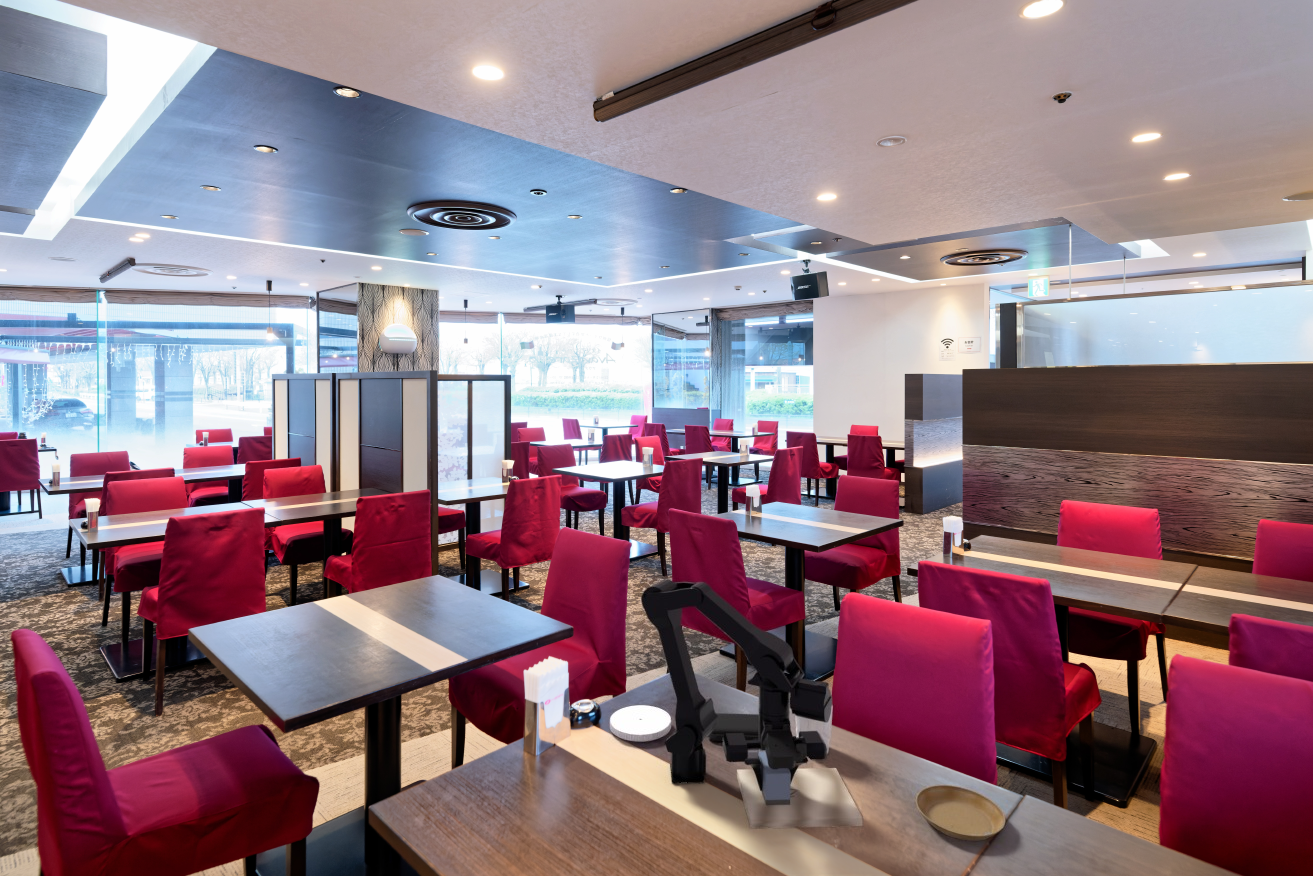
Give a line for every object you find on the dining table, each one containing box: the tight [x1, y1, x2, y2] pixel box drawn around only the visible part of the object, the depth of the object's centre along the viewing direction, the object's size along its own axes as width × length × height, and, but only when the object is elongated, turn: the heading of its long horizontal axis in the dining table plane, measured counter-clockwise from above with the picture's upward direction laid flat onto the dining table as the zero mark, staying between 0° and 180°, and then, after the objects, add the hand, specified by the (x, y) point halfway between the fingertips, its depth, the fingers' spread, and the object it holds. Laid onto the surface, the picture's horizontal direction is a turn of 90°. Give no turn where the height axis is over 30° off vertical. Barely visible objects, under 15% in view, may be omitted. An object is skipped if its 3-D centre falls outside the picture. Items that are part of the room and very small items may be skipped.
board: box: [736, 767, 863, 829], centre depth 129 cm, size 20×16×2 cm
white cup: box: [794, 705, 834, 755], centre depth 146 cm, size 8×8×10 cm
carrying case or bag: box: [707, 712, 759, 742], centre depth 153 cm, size 11×3×15 cm
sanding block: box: [758, 751, 791, 805], centre depth 128 cm, size 4×8×6 cm, turn 2°
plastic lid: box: [609, 704, 672, 743], centre depth 155 cm, size 14×14×2 cm
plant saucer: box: [915, 784, 1006, 842], centre depth 122 cm, size 15×15×3 cm
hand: (773, 789), depth 128 cm, fingers closed on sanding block, 4 cm apart
